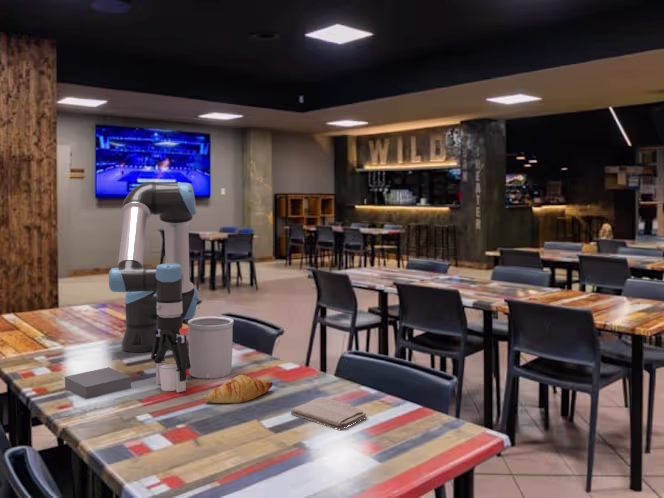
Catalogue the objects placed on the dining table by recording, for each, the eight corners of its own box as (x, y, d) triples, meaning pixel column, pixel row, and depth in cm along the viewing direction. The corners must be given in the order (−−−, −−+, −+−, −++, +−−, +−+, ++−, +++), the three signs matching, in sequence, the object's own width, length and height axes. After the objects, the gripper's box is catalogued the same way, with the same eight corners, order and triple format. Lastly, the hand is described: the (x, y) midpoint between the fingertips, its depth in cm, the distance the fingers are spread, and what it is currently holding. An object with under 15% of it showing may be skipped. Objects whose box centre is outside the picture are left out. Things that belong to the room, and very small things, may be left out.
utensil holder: (242, 369, 202) (242, 318, 201) (216, 382, 189) (215, 327, 187) (206, 364, 209) (206, 314, 207) (178, 375, 195) (177, 322, 194)
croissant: (208, 419, 167) (213, 398, 163) (196, 394, 174) (200, 373, 170) (276, 403, 179) (281, 383, 175) (261, 380, 186) (267, 361, 182)
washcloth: (341, 433, 150) (342, 421, 150) (288, 416, 161) (288, 405, 161) (369, 419, 159) (369, 408, 159) (317, 404, 170) (317, 394, 170)
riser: (109, 379, 192) (108, 367, 192) (131, 389, 183) (131, 376, 182) (65, 389, 182) (64, 376, 182) (86, 400, 172) (85, 387, 172)
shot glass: (176, 392, 179) (175, 369, 178) (155, 390, 180) (154, 367, 179) (186, 385, 185) (186, 363, 185) (165, 383, 187) (165, 361, 186)
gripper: (138, 311, 186) (139, 382, 187) (180, 322, 170) (181, 398, 172) (159, 308, 191) (160, 377, 193) (202, 318, 176) (203, 392, 178)
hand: (170, 387), depth 183 cm, fingers open, 10 cm apart
